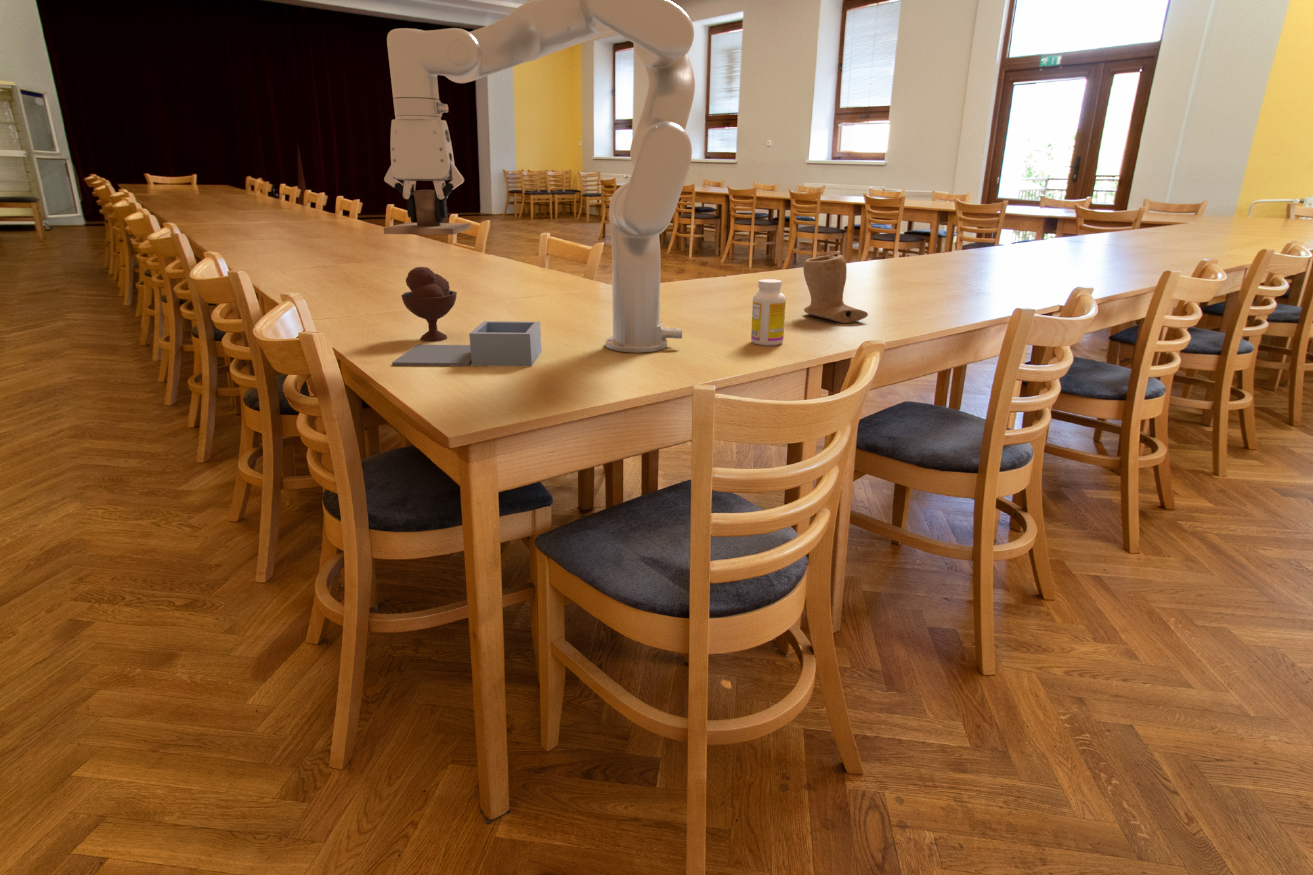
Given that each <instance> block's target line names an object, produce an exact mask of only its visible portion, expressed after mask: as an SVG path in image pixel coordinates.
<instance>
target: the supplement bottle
mask: <svg viewBox="0 0 1313 875" xmlns="http://www.w3.org/2000/svg"><path fill="white" fill-rule="evenodd" d="M782 284H783V283H782V280H780V279H774V278H770V279H769V278H767V279H766V278H764V279H759V280H758V284H757V285H758V286H757V287H758V292H756V293H754V294H753V297H752V307H751V308H752V309H751V310H752V313H751V332H750V333H751V334H750V337H751V338H750V341H751V342H752V344H754V345H757V346H764V347H765V346H766V347H771V346H772V347H774V346H779V345H781V344H782V343H783V342H784V336H785V335H784V334H785V331H784V330H785V320H786V319H785V318H786V316H785V315H786V295H784V293H782V292H781V289H782Z"/></svg>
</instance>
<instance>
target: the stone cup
mask: <svg viewBox="0 0 1313 875" xmlns="http://www.w3.org/2000/svg"><path fill="white" fill-rule="evenodd" d="M803 275H804V280H805V283H806V285H807V288H808V291H809V294H810V305H808V306H806V307H804V309H803V311H804V313H806V314H809V315H810V316H815V317H818V318H821V319H826V320H828V321H829V320H830V321H833V322H836V323H837V322H838V323H844V324H850V323H855V322H858V321H861V320H864V319H865V318H867V317H868V316H869V314H868V312H867V311H865V310H862V309H860V308H859V309H858V308H856V307H852V306H850V305H846V304H845V302H844V290H845V284H846V281H847V262H846V259H845V257H844V256H843V255H842V254H837V256H834V255H831V254H829V255H827V254H826V255H821V256H816V257H811V258H807V259H805V260H804V264H803Z"/></svg>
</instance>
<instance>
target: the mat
mask: <svg viewBox="0 0 1313 875" xmlns="http://www.w3.org/2000/svg"><path fill="white" fill-rule="evenodd" d="M391 363H392V364H391V365H392V366H396V367H398V366H399V367H400V366H403V367H407V366H408V367H409V366H411V367H470V365H472V360H471V348H470V344H416V345H414V346H413V347H412V348H410V349H409V350H407V351H406V352H404V353H402V355H400V356H399V357H397V358H396V359H395V360H393V361H392V362H391Z"/></svg>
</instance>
